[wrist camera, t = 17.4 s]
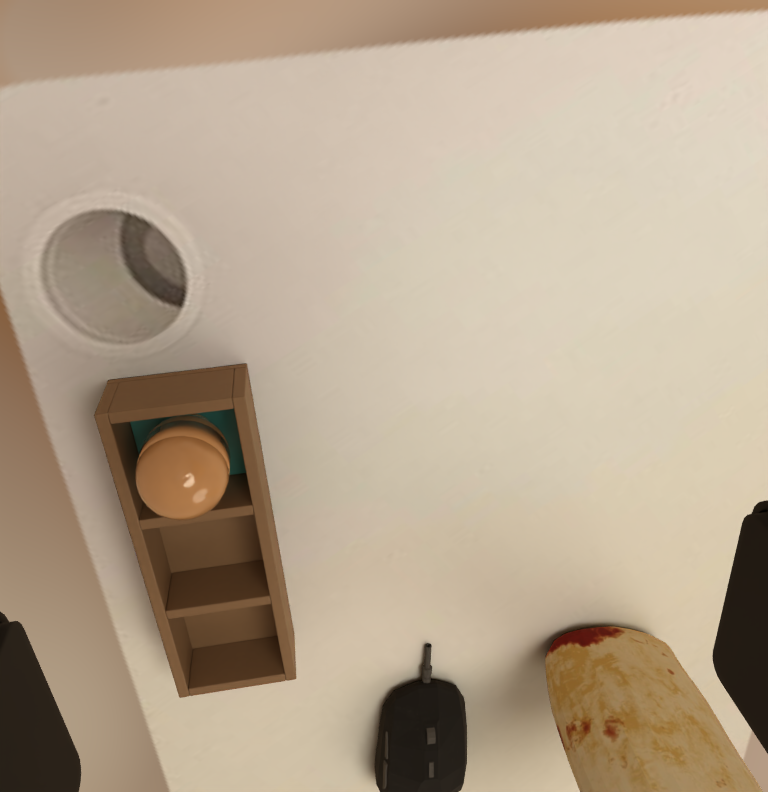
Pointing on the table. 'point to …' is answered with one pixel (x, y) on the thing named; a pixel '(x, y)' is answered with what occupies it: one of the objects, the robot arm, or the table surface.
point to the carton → (205, 536)
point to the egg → (183, 467)
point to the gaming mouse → (422, 737)
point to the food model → (637, 717)
